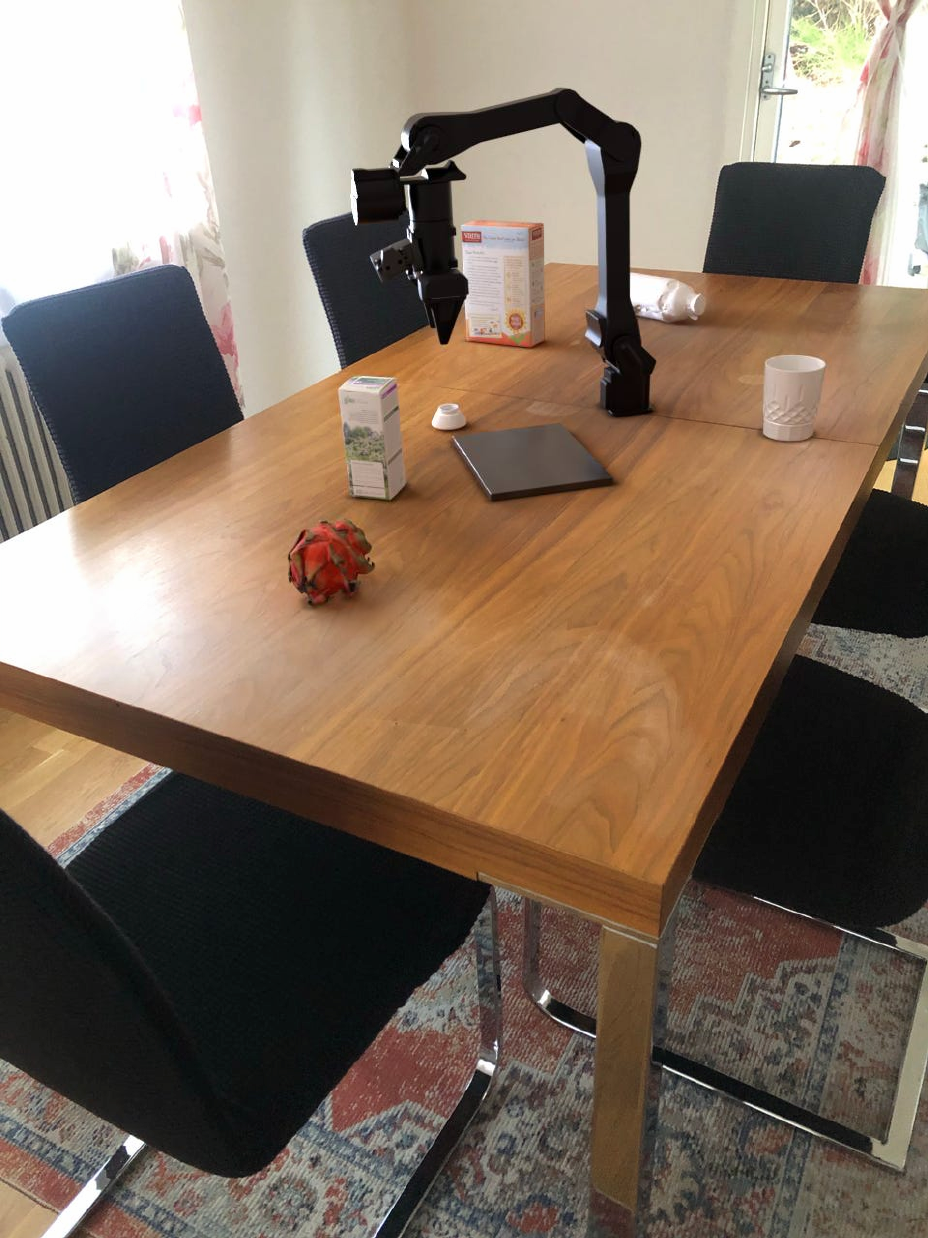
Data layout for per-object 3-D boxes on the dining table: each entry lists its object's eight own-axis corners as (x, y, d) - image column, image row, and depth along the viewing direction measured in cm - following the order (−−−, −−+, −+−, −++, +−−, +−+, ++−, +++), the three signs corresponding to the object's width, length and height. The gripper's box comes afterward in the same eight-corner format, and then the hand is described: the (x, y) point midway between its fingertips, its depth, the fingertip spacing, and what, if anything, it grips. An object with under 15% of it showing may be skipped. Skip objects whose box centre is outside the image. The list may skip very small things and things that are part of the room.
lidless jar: (464, 431, 152) (467, 420, 156) (463, 412, 150) (466, 401, 155) (430, 432, 152) (434, 420, 157) (429, 412, 151) (433, 401, 155)
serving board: (560, 429, 151) (560, 422, 150) (612, 484, 132) (612, 477, 132) (453, 442, 148) (452, 436, 148) (491, 501, 129) (491, 494, 129)
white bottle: (685, 332, 193) (688, 288, 189) (609, 316, 205) (610, 274, 201) (712, 323, 197) (715, 280, 193) (635, 308, 210) (637, 267, 206)
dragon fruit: (367, 578, 116) (320, 644, 108) (304, 534, 116) (252, 597, 107) (400, 531, 111) (353, 598, 102) (334, 485, 110) (281, 548, 101)
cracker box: (546, 340, 192) (545, 221, 182) (530, 349, 188) (528, 227, 177) (482, 333, 199) (477, 217, 188) (465, 341, 195) (460, 223, 184)
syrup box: (407, 484, 135) (398, 375, 128) (390, 502, 131) (379, 390, 123) (367, 480, 137) (356, 372, 130) (348, 498, 132) (336, 387, 125)
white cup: (820, 427, 146) (830, 357, 141) (811, 446, 140) (821, 373, 135) (764, 421, 149) (771, 352, 144) (752, 440, 143) (759, 368, 138)
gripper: (365, 212, 145) (375, 325, 153) (378, 235, 129) (389, 359, 137) (443, 206, 146) (450, 318, 154) (466, 227, 130) (472, 351, 138)
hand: (439, 335), depth 146 cm, fingers open, 9 cm apart
